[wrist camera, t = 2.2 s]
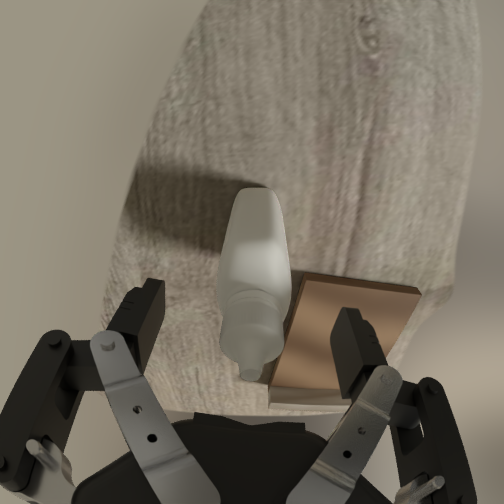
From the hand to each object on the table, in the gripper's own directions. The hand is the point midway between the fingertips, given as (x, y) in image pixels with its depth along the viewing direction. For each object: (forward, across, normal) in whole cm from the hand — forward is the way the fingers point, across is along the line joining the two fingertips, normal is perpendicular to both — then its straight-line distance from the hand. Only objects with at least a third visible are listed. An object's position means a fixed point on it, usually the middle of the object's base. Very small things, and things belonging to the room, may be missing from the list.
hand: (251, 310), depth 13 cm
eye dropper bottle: (+8, 0, -1) cm, 8 cm away
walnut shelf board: (+8, -9, +9) cm, 15 cm away
